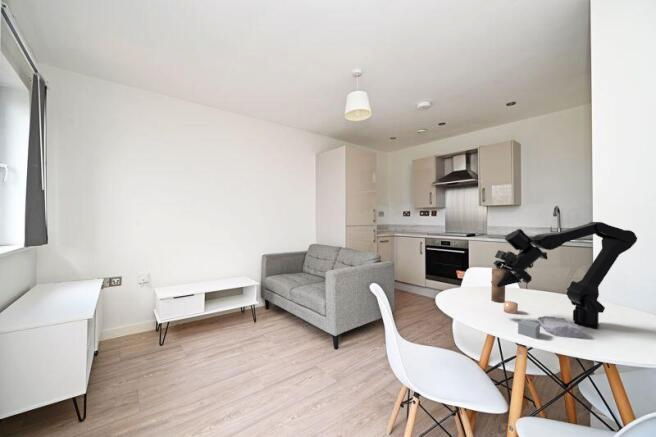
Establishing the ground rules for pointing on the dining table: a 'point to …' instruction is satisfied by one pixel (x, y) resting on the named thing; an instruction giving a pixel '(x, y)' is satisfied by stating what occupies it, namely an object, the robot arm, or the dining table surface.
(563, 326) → the stone block
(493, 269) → the walnut post
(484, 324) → the dining table surface
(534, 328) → the grey faceted polyhedron
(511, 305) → the peach rounded knob part
